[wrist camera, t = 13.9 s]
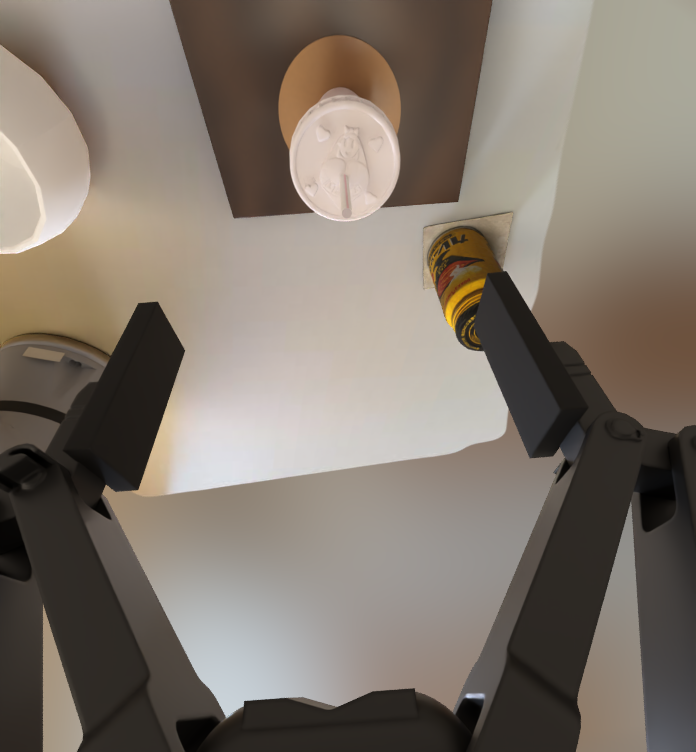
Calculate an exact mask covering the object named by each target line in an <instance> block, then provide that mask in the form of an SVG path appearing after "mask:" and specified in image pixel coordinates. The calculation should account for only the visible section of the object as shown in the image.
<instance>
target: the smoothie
mask: <svg viewBox="0 0 696 752" xmlns="http://www.w3.org/2000/svg"><path fill="white" fill-rule="evenodd" d="M289 155H290V171H291V177H292V180H293V183H294V186H295V188H296V190H297V192H298V194H299V196H300V197H301V199H302V200H303V201H304V202H305V204H306V205H307V206H308V207H309V208H310V209H312V210H313V211H314V212H316V213H317V214H319V215H321V216H323V217H325V218H328V219H331V220H335V221H354V220H358V219H362V218H364V217H366V216H368V215H370V214H372V213H373V212H375V211H376V210H378V209H379V208H380V207H381V206H382V205H383V204H384V203H385V202H386V201H387V199H388V198H389V197H390V195H391V193H392V192H393V190H394V188H395V185H396V183H397V180H398V176H399V171H400V150H399V144H398V138H397V136H396V133H395V130H394V128H393V125H392V123H391V122H390V120H389V119H388V118H387V116H386V115H385V113H384V112H383V111H382V110H381V109H379V108H378V107H377V106H376V105H374V104H373V103H372V102H371V101H369V100H366V99H363V98H361V97H358V96H357V95H356V94H355V93H354V92H353V91H351V90H349V89H347V88H342V87H338V88H333V89H331V90H329V91H327V92H326V93H325V94H324V95H323V96H322V97H321V99H320V100H319V102H318V103H317V104H315V105H314V106H313V107H311V108H310V109H309V110H308V111H307V112H306V113H305V115H304V116H303V117H302V118H301V119H300V121H299V122H298V125H297V127H296V129H295V131H294V134H293V136H292V140H291V146H290V152H289Z"/></svg>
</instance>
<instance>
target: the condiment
mask: <svg viewBox="0 0 696 752" xmlns="http://www.w3.org/2000/svg"><path fill="white" fill-rule="evenodd" d="M512 216H513V212H511V213H506V214H500V215H495V216H489V217H483V218H476V219H469V220H462V221H456V222H450V223H444V224H439V225H433V226H428V227H425V228H423V273H424V275H423V276H424V289H430V288H435V289H436V291H437V294H438V297H439V300H440V303H441V306H442V309H443V313H444V316H445V318H446V321H447V322H448V324H449V325H450V326H451V327H452V328H453V330H454V331H455V333H456V336H457V339H458V341H459V342H460V343H461V344H462V345H463V346H464V347H466V348H467V349H470V350H474V351H484V349H483V347H482V345H481V342H480V340H479V338H478V335H477V333H476V331H475V328H474V322H475V318H476V314H477V311H478V307H479V303H480V299H481V295H482V291H483V287H484V283H485V279H486V276H487V273H494V272H504V271H503V265H504V259H505V253H506V248H507V240H508V237H509V232H510V226H511V222H512Z"/></svg>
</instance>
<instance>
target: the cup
mask: <svg viewBox="0 0 696 752" xmlns="http://www.w3.org/2000/svg"><path fill="white" fill-rule="evenodd" d="M90 178H91V174H90V164H89V153H88V147H87V145H86V142H85V140H84V138H83V136H82V134H81V132H80V130H79V128H78V126H77V123H76V121H75V119H74V117H73V115H72V113H71V112H70V110H69V109H68V108H67V107H66V106H65V104H64V103H63V102H62V101H61V99H60V98H59V97H58V96H57V95H56V93H55V92H54V91H53V90H52V89H51V87H50V86H49V85H48V84H47V83H46V81H45V80H44V79H43V78H42V76H40V75H39V74H38V73H36V72H35V71H34V70H33V69H31V68H30V67H29V66H27V65H26V64H25V63H23V62H22V61H21V60H20V59H18V58H17V57H16V56H14V55H13V54H12V53H10V52H9V51H8V50H6V49H5V48H4V47H3V46H1V45H0V254H6V253H20V252H23V251H25V250H28V249H31V248H33V247H36V246H38V245H40V244H42V243H44V242H46V241H48V240H50V239H52V238H54V237H55V236H57V235H59V234H61V233H62V232H63V231H64V230H65V229H66V228H67V227H68V226H69V225H70V224H71V223H72V222H73V221H74V220H75V219H76V218H77V216H78V214H79V212H80V210H81V208H82V206H83V203H84V201H85V199H86V197H87V195H88V191H89V184H90Z"/></svg>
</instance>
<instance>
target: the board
mask: <svg viewBox="0 0 696 752" xmlns="http://www.w3.org/2000/svg"><path fill="white" fill-rule="evenodd" d="M169 1H170V5H171V8H172V11H173V15H174V18H175V22H176V25H177V28H178V32H179V35H180V38H181V42H182V45H183V49H184V52H185V55H186V59H187V62H188V65H189V69H190V72H191V76H192V79H193V82H194V86H195V89H196V92H197V96H198V99H199V103H200V106H201V109H202V113H203V116H204V119H205V123H206V126H207V130H208V133H209V136H210V140H211V143H212V146H213V150H214V153H215V156H216V160H217V163H218V167H219V170H220V173H221V177H222V180H223V183H224V187H225V190H226V194H227V197H228V200H229V204H230V207H231V210H232V214H233V217H234V218H247V217H261V216H274V215H288V214H301V213H315V212H314V211H313V210H312V209H310V208H309V207H308V206H307V205H306V204H305V202H304V201H303V200H302V199H301V197H300V196H299V194H298V192H297V190H296V188H295V186H294V183H293V180H292V177H291V171H290V155H289V152H290V146H291V140H292V136H293V134H294V131H295V129H296V127H297V125H298V122H299V121H300V119H301V118H302V117H303V116H304V115H305V113H306V112H307V111H308V110H309V109H310V108H311V107H313V106H314V105H315V104H317V103H318V102H319V100H320V99H321V97H322V96H323V95H324V94H325V93H326V92H327V91H329V90H331V89H333V88H338V87H342V88H347V89H349V90H351V91H353V92H354V93H355V94H356V95H357V96H358V97H361V98H363V99H366V100H369V101H371V102H372V103H373V104H374V105H376V106H377V107H378V108H379V109H381V110H382V111H383V112H384V113H385V115H386V116H387V118H388V119H389V120H390V122H391V123H392V125H393V128H394V130H395V133H396V136H397V138H398V144H399V150H400V171H399V176H398V180H397V183H396V185H395V188H394V190H393V192H392V193H391V195H390V197H389V198H388V199H387V201H386V202H385V203H384V204H383V205H382V206H381V207H380V208H382V207H395V206H408V205H422V204H435V203H449V202H458V200H459V194H460V188H461V182H462V176H463V171H464V165H465V159H466V153H467V147H468V141H469V135H470V130H471V124H472V118H473V112H474V106H475V100H476V94H477V88H478V83H479V77H480V71H481V65H482V59H483V53H484V47H485V42H486V36H487V30H488V24H489V18H490V12H491V6H492V1H493V0H169Z"/></svg>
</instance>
